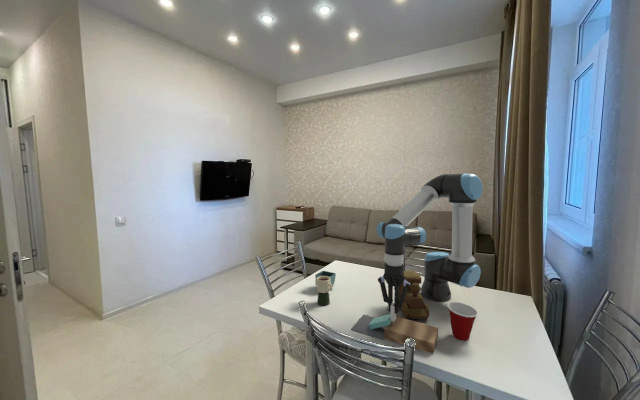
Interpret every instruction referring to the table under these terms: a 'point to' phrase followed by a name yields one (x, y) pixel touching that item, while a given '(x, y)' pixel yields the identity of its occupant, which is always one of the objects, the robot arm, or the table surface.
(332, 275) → the flower pot
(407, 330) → the brown rectangular block
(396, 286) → the robot arm
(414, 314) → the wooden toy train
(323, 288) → the character mug
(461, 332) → the plastic cup
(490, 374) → the table surface
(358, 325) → the mat
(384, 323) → the teal rectangular block
